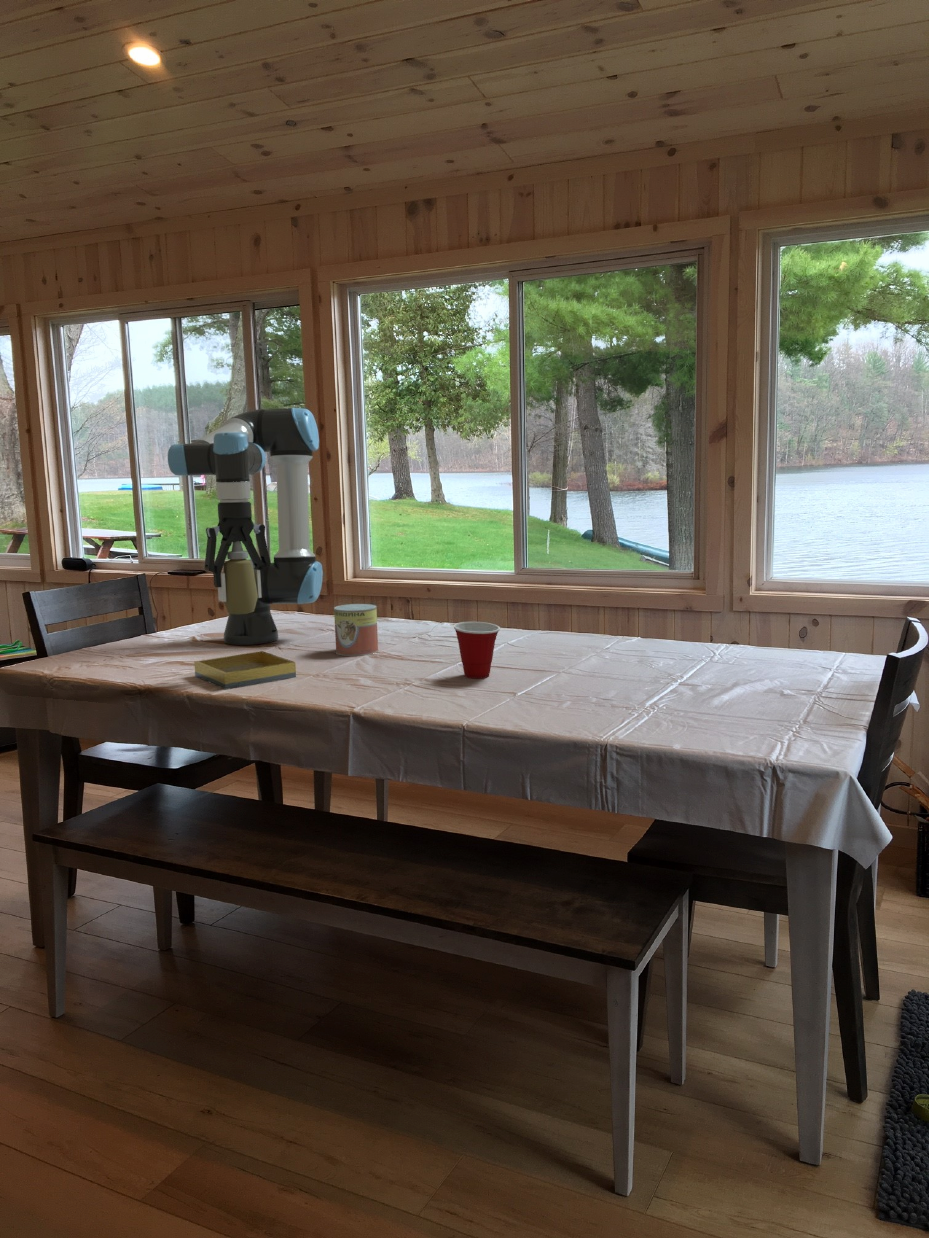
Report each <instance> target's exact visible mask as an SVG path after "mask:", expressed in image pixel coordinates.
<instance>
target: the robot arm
mask: <svg viewBox="0 0 929 1238" xmlns="http://www.w3.org/2000/svg"><path fill="white" fill-rule="evenodd" d="M316 422H317V421H316V419H315V416H314V414H313V413H312V412H311V411H310V410H309V409H307V408H301V407H299V408H298V407H289V408H287V407H286V408H264V409H262V408H260V409H259V408H258V409H257V408H256V409H252V410H247V411H244V412H242V413H240V414H237V415H234V416H232V417H229V418H227V419H226V420H225V421H223V422H222V423H221V424H220V427H219V428H217V429H216V430H214V431H212V432H210V433H208V434H206V435H204V436H202V437H200V438H198V439H197V440H194V441H192V442H190V443H183V442H182V443H178V444H172V445H170V446H169V449H168V451H167V464H168V468H169V470H170V472H171V473H172V474H173V475H175V476H184V477H188V476H190V477H191V476H213V475H214V476H215V483H216V485H215V486H216V487H215V489H216V498H217V500H218V501H219V502H218V503H217V517H218V523H217V525H216V526H212V527H206V528H205V533H206V537H207V538H206V540H207V541H206V549H205V550H206V551H205V559H204V570H205V571H207V572H211V573H212V575H213V586H214V587H215V588H217V595H218V596H217V597H218V598H217V599H218V602H222V603H224V602H227V601H226V585H225V573H223V572H222V570H223V569H224V563H225V562H226V559H227V553H228V552H229V551H230V547H232V545H233V542H237V541H241V544H243V546H244V548H245V549H246V550H245V551H248V557H250V558H249V559H248V558H247V560H250V561H251V562H252V563H253V569H254V575H255V582H256V588H257V594H258V598H257V602H256V606H255V609H254V612H251V613H248V614H230V613H228V616H227V620H226V625H225V629H224V632H223V642H224V643H225V644H228V645H234V646H237V645H238V646H250V645H251V646H252V645H260V644H267V643H272V642H275V641H277V640H279V631H278V628H277V626H276V625H277V624H276V623H275V621H274V618H273V616H272V615H273V614H272V612H271V605H277V604H278V605H279V604H281V605H283V604H285V605H286V604H287V605H289V604H290V605H291V604H293V605H296V604H298V605H302V604H312V603H314V602H316V601H317V600H318V598H319V597H320V594H321V591H322V587H323V575H324V572H323V565H322V563H321V562H319V561H318V560H317V559H316V558H317V557H316V554H315V553H314V552H312V550H311V547H310V543H311V542H310V540H311V539H310V511H309V509H310V508H309V507H310V506H309V505H310V503H309V479H308V477H309V475H308V474H309V473H308V464H309V463H310V462H311V460H312V459H313V454H314V452H316V451H318V450H319V448H320V438H319V437H320V436H319V430H318V425H317V423H316ZM266 453H269V457H270V459H271V460H272V461H273V462H274V464H275V465H276V466H275V468H276V496H277V497H276V498H277V499H276V501H277V502H276V503H277V504H276V506H277V526H278V528H277V529H278V530H277V531H278V551H277V552H276V554H274V555H273V562H271V557H270V554H269V548H268V545H267V540H266V536H265V535H266V534H265V532H266V525H265V524H259V523H258V524H255V523H254V522H253V518H252V517H253V516H252V515H253V513H252V512H253V511H252V502H251V501H249V500H250V499H252V496H251V495H252V493H251V482H250V480H251V479H250V475H251V476H253V475H255V474H258V473H259V472H261V471H262V470H263V469H264V468H265V465H266V463H267V461H266V460H267V457H266V456H267V455H266ZM252 532H254V534H255V540H256V544H257V547H258V551H257V549H256V547H255V544H254V541H253V539H252V537H251V533H252ZM219 533H220V534H221V535H222V537H221V540H220V546H219V549H218V551H217V550H216V549H217V541H218V540H217V536H218V535H219ZM216 551H217V553H216ZM258 552H259V553H258ZM216 554H217V555H216Z"/></svg>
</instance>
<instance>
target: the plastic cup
mask: <svg viewBox="0 0 929 1238" xmlns="http://www.w3.org/2000/svg"><path fill="white" fill-rule="evenodd" d="M453 629H454V632H455V635H456V639H457V643H458V648H459V653H460V654H459V655H460V659H461V663H462V668H463V674H464V676H465V677H466V678H468V679H484V678H488V677H490V674H491V670H492V669H491V668H492V662H493V656H494V650H495V642H496V640H497V636H498V633H499V631H500V630H501V626H499V625H497V624H495V623H490V622H484V621H483V622H482V621H462V622H461V621H460V622H457V623H455V624H453Z"/></svg>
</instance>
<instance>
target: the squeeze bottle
mask: <svg viewBox="0 0 929 1238" xmlns="http://www.w3.org/2000/svg"><path fill="white" fill-rule="evenodd" d="M248 558H249V554H248V551H247V550H244V549H243V545H242V541H237V542H232V544H231V550H229V551H228V553H227V556H226V559H228V560H225V562H224V565H223V569H222V570H223V572H222V573H225V585H226V601H227V602H223V603H224V606H225V608H226V611H227V613H228V614H229V613H230V614H248V613H251V612H254V609H255V606H256V602H257V598H258V594H257V588H256V582H255V575H254V569H253V563H252V562H251V561H250V560H248Z"/></svg>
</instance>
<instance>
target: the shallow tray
mask: <svg viewBox="0 0 929 1238" xmlns="http://www.w3.org/2000/svg"><path fill="white" fill-rule="evenodd" d="M193 663H194V665H193V666H194V676H195V677H196V678H199V679H200V680H203V681H205V682H208V683H209V684H212V685H214V686H217V687H219V688H221V689H224V690H230V689H236V688H242V687H248V686H252V685H259V684H264V683H265V684H266V683H269V682H275V681H277V682H278V681H281V680H288V679H292V678H293V679H294V678H297V670H296V669H297V666H296V661H293V660H291V659H287V658H285V657H281V656H278V655H275V654H272V653H269V652H266V651H263V650H261V651H254V652H253V651H252V652H249V653H248V652H247V653H241V654H235V655H229V656H223V657H222V656H221V657H215V658H209V659H208V658H207V659H202V660H195V661H194V662H193Z"/></svg>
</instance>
